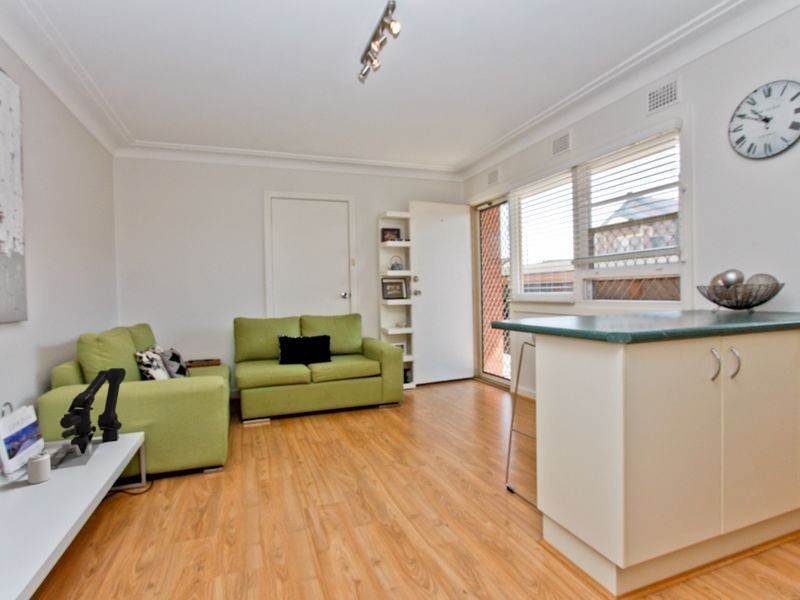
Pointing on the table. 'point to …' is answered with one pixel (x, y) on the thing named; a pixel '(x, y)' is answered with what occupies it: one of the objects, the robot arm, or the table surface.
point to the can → (39, 467)
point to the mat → (75, 458)
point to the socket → (88, 450)
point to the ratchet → (61, 455)
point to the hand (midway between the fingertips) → (84, 451)
